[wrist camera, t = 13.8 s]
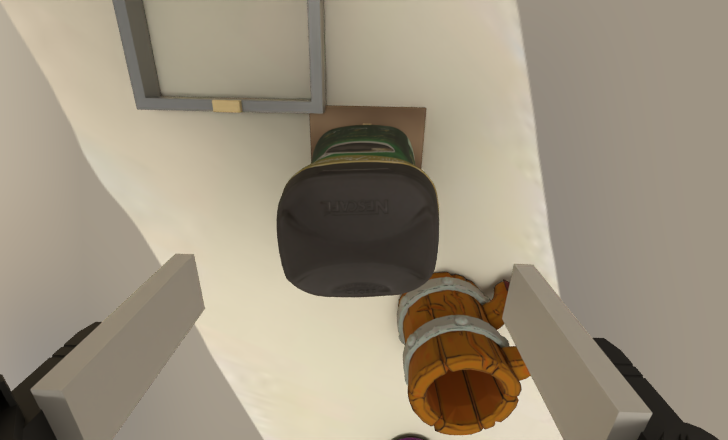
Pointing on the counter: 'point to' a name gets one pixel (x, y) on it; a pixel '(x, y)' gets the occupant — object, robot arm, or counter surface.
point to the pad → (372, 122)
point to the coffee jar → (359, 217)
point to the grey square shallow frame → (150, 97)
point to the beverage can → (410, 438)
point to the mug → (458, 355)
